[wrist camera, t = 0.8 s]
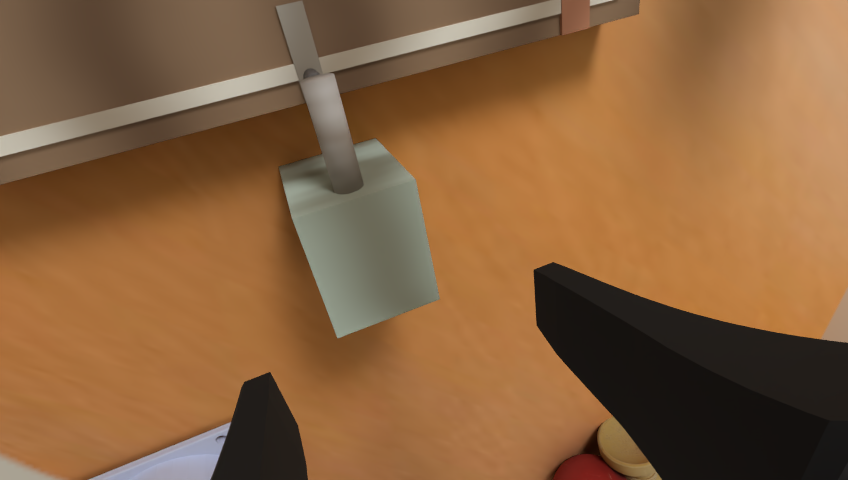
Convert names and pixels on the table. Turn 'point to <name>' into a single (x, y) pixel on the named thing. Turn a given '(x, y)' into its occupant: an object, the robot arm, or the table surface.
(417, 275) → the grey block with peg
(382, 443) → the table surface
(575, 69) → the table surface
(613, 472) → the kendama
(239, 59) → the walnut plank
